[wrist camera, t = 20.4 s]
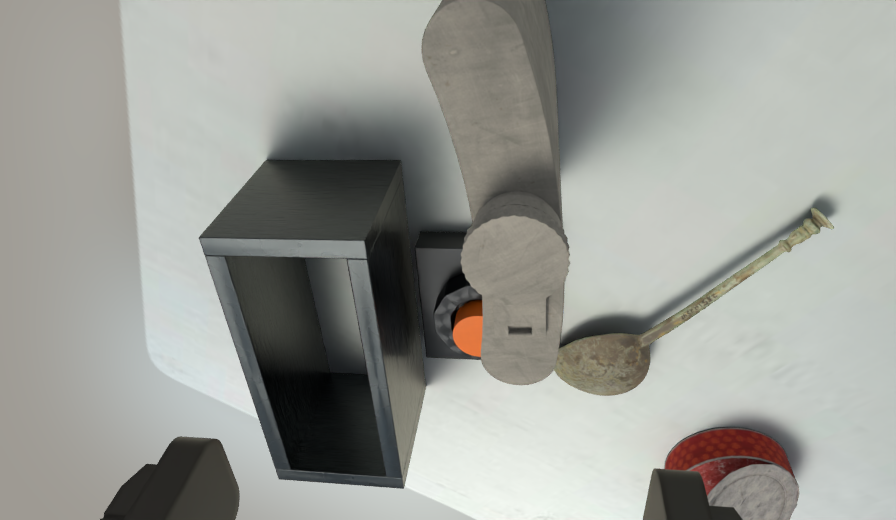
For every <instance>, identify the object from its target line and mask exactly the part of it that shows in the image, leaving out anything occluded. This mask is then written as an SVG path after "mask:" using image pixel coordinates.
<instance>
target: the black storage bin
mask: <svg viewBox="0 0 896 520" xmlns="http://www.w3.org/2000/svg"><path fill="white" fill-rule="evenodd" d="M402 176H403V175H402V166H401V160H266V161H265V162H264V163H263V164H262V165H261V167H260V168H259V169H258V170H257V171H256V172H255V173H254V175H253V176H252V177H251V178H250V179H249V180H248V182H247V183H246V184H245V185H244V186H243V187H242V188H241V190H240V191H239V192H238V193H237V194H236V195H235V196H234V198H233V199H232V200H231V201H230V202H229V203H228V205H227V206H226V207H225V208H224V209H223V210H222V211H221V213H220V214H219V215H218V216H217V217H216V218H215V220H214V221H213V222H212V223H211V224H210V225H209V226H208V228H207V229H206V230H205V231H204V232H203V233H202V235H201V236H200V237H199V239H200V242H201V245H202V248H203V251H204V255H205V257H206V260H207V263H208V266H209V269H210V272H211V275H212V278H213V281H214V284H215V287H216V290H217V293H218V296H219V299H220V303H221V306H222V309H223V312H224V315H225V318H226V321H227V324H228V327H229V330H230V333H231V336H232V339H233V342H234V345H235V348H236V351H237V354H238V357H239V360H240V363H241V366H242V369H243V372H244V375H245V378H246V381H247V384H248V387H249V390H250V393H251V396H252V399H253V402H254V405H255V408H256V411H257V414H258V417H259V420H260V423H261V426H262V430H263V432H264V435H265V438H266V442H267V445H268V448H269V451H270V454H271V457H272V460H273V463H274V466H275V468H276V472H277V475H278V478H279V479H284V480H297V481H310V482H323V483H336V484H350V485H364V486H376V487H390V488H404V486H405V481H406V477H407V472H408V468H409V463H410V458H411V454H412V449H413V445H414V440H415V436H416V431H417V426H418V422H419V417H420V413H421V408H422V404H423V399H424V394H425V390H426V383H425V374H424V365H423V356H422V347H421V338H420V329H419V320H418V311H417V302H416V293H415V284H414V275H413V266H412V257H411V248H410V239H409V230H408V221H407V212H406V203H405V194H404V185H403V178H402ZM304 258H346V259H347V263H348V269H349V275H350V280H351V286H352V291H353V297H354V302H355V308H356V313H357V319H358V324H359V330H360V335H361V341H362V347H363V352H364V358H365V363H366V369H367V374H368V375H365V374H344V373H330V370H329V366H328V361H327V357H326V352H325V348H324V344H323V339H322V335H321V330H320V326H319V321H318V317H317V313H316V308H315V304H314V299H313V295H312V290H311V286H310V282H309V277H308V273H307V268H306V264H305V259H304Z"/></svg>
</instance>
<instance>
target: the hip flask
mask: <svg viewBox="0 0 896 520" xmlns="http://www.w3.org/2000/svg"><path fill="white" fill-rule="evenodd" d="M422 57H423V62H424V65H425V68H426V71H427V74H428V76H429V78H430V81H431V83H432V86H433V88H434V90H435V93H436V95H437V98H438V100H439V103H440V106H441V109H442V111H443V114H444V117H445V119H446V122H447V125H448V128H449V131H450V134H451V138H452V141H453V144H454V147H455V150H456V154H457V157H458V161H459V165H460V168H461V172H462V175H463V179H464V183H465V188H466V192H467V197H468V201H469V206H470V211H471V217H472V222H473V223H472V225H471V227H470V228H469V229H468V230H467V234H466V236H465V237H464V243H463V250H462V252H461V257H462V259H461V265H462V271H463V273H464V274H465V278H466V280H467V281H468V282H469V283H470V285H471V287H473V288H474V289H476V291H477V292H478V293H479V294H481V295H482V308H483V325H482V343H481V361H482V364H483V366H484V368H485V369H486V371H487V372H488V373H489V374H490V375H492V376H493V377H494V378H496V379H498V380H500V381H502V382H505V383H508V384H513V385H529V384H533V383H537V382H539V381H542V380H543V379H545V378H546V377H548V376H549V375H550V374H551V373H552V371H553V370H554V368H555V366H556V363H557V357H558V351H559V345H560V338H561V330H562V322H563V307H564V281H565V278H566V275H567V274H568V272H569V271H568V267H569V265H570V262H569V256H570V254H569V251H568V250H569V245H568V243H567V237H566V235H565V234H564V230H563V223H562V201H561V178H560V156H559V133H558V111H557V89H556V75H555V63H554V53H553V45H552V37H551V30H550V24H549V18H548V12H547V7H546V2H545V0H442V2H441V3H440V5H439V7H438V8H437V10H436V11H435V13H434V15H433V16H432V18H431V19H430V21H429V23H428V25H427V27H426V29H425V32H424V36H423V39H422Z"/></svg>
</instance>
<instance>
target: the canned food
mask: <svg viewBox="0 0 896 520" xmlns="http://www.w3.org/2000/svg"><path fill="white" fill-rule="evenodd" d="M665 469H668V470H684V471H698V472H699V473H700V474H701V476H702V479H703V482H704V486H705V490H706V494H707V498H708V502H709V506H721V507H734V508H735V510H736V511H737V513H738V514H739V515H740V517H741V518H742V519H743V520H790V517H791V515H792V513H793V511H794V509H795V508H796V506H797V501H798V497H799V486H798V484H797V481H796V479H795V477H794V474H793V472H792V469H791V467H790V464H789V461H788V459H787V455H786V453H785V451H784V449H783V448H782V447H781V446H780V444H779V443H778V442H776V441H775V440H774V439H772V438H771V437H769V436H767V435H765V434H763V433H760V432H757V431H754V430H750V429H744V428H736V427H735V428H716V429H710V430H706V431H702V432H699V433H696V434H694V435H691V436H689V437H687V438H686V439H684V440H682V441H681V442H679V443H678V444H677V445H676V446H675V447H674V448H673V449H672V450H671V452H670V453H669V454H668V456H667V459H666V462H665Z"/></svg>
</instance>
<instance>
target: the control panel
mask: <svg viewBox="0 0 896 520" xmlns="http://www.w3.org/2000/svg"><path fill="white" fill-rule="evenodd" d="M466 234H467V232H427V231H421V232H420V234H419V237H418V240H417V243H416V246H415V254H416V264H417V273H418V282H419V292H420V301H421V311H422V320H423V329H424V339H425V348H426V357H431V358H453V359H475V360H481V357H477V356H472V355H469V354H467V353H465V352H463V351H462V350H461V349H459V348H458V347H457V345H456V344H455V342H454V339H453V328H454V323H455V318H456V314H457V311H458V310H459V309H460V307H461V306H463V305H464V304H466V303H468V302H470V301H475V300H482V295H481V294H479V293H478V292H477V291H476V289H474V288H473V287H471V285H470V283H469V282H468V281H467V280H466V278H465V274H464V273H463V271H462V265H461V259H462V257H461V252H462V250H463V243H464V237H465V236H466Z"/></svg>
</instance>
